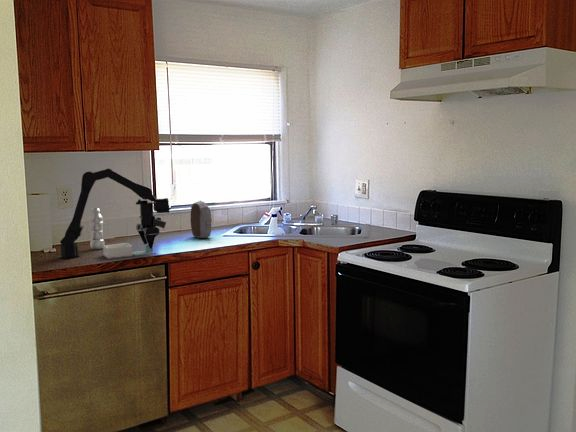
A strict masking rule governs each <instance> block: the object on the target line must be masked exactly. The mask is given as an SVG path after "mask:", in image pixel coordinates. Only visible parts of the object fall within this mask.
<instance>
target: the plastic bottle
mask: <svg viewBox="0 0 576 432" xmlns="http://www.w3.org/2000/svg"><path fill="white" fill-rule="evenodd" d="M100 212H101V210H100V208H99V207H92V208H91V214H90V216H89V218H88V222H89V226H90V242H89V244H90V248H91V249H92V250H101V249H103V245H106V244H105V239H104V232H103V231H104V230H103V229H104V227H103V225H104V216H103V215H102V214H101V213H100Z"/></svg>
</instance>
